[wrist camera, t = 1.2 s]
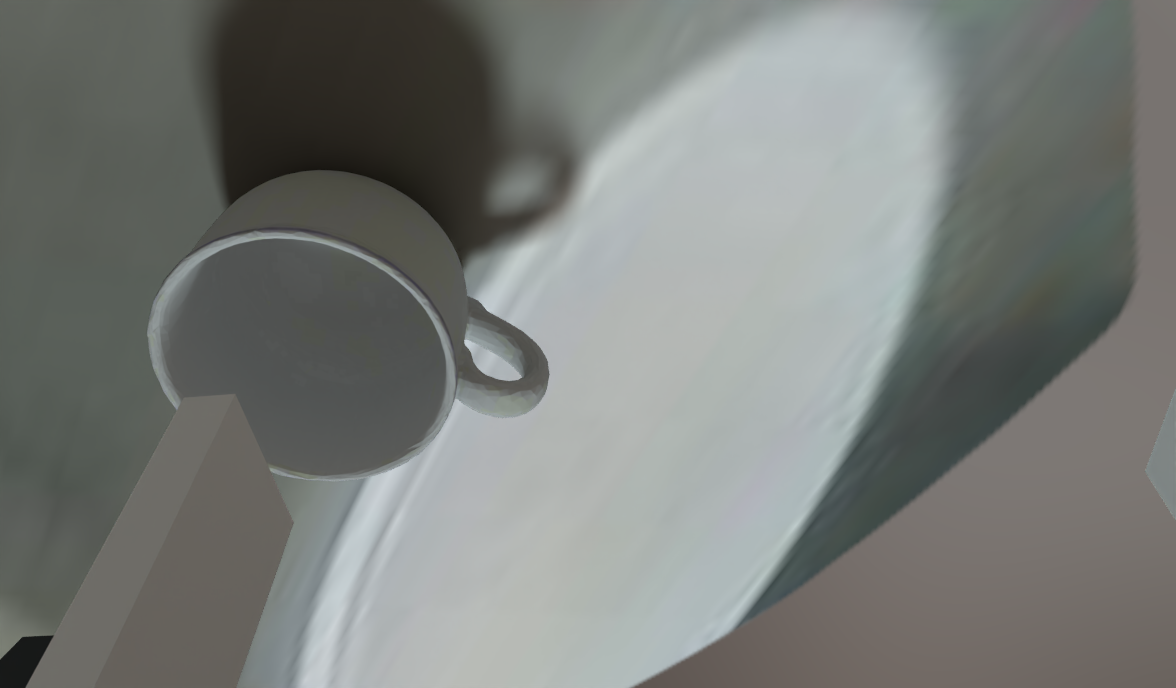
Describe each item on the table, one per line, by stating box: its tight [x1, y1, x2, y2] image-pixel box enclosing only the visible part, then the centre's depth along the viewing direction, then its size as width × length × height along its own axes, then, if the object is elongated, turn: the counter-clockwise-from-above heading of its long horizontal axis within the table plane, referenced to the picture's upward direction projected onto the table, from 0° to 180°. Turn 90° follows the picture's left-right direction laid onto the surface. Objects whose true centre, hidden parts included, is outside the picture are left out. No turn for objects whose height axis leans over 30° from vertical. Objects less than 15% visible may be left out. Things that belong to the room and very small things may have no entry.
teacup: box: [147, 170, 549, 481], centre depth 36 cm, size 14×11×8 cm
